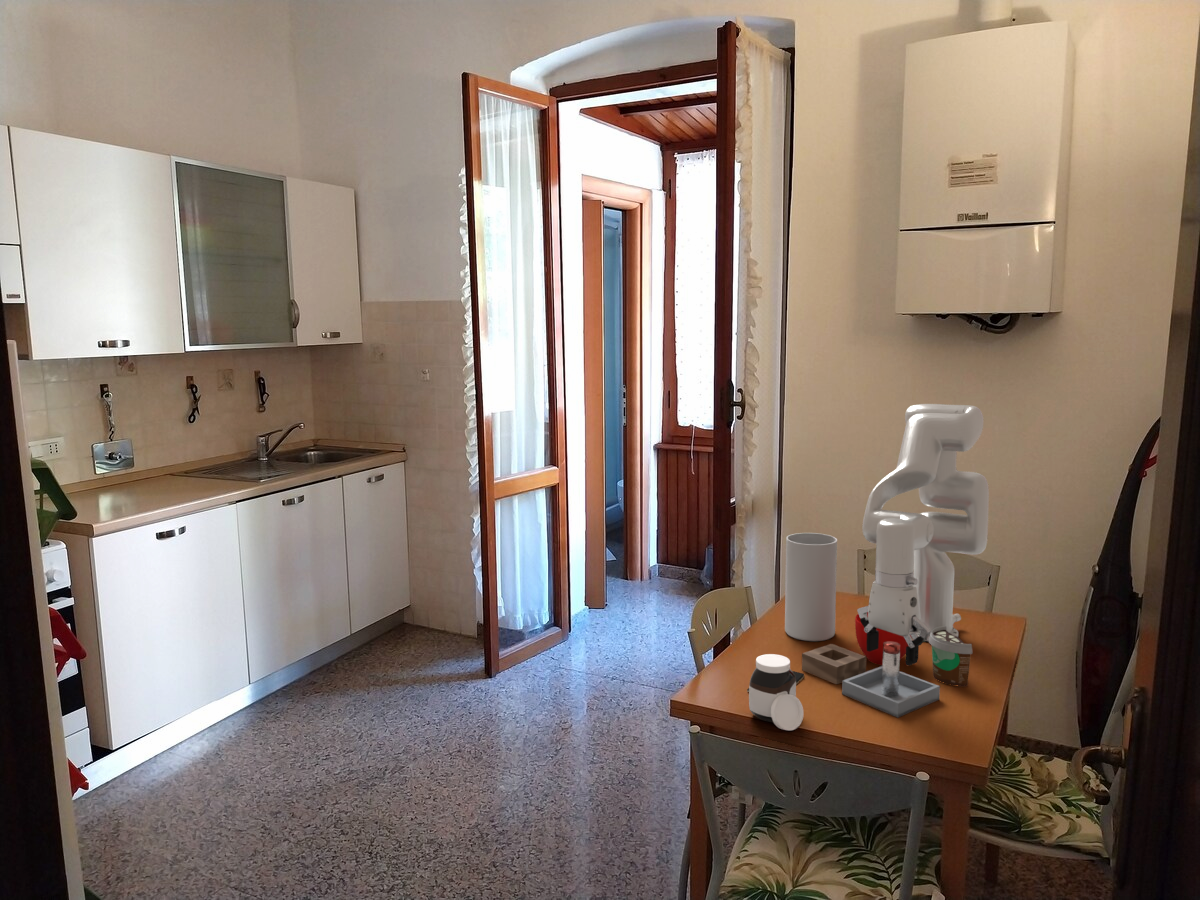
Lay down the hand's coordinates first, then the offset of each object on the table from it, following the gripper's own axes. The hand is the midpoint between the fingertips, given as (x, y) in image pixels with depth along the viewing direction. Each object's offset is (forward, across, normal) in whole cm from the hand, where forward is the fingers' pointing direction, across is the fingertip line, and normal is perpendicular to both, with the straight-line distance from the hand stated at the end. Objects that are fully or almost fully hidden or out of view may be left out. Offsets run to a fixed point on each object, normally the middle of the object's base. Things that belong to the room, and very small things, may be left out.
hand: (891, 656), depth 180 cm
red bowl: (+9, +14, -18) cm, 24 cm away
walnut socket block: (+9, +16, -1) cm, 18 cm away
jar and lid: (+9, +7, +26) cm, 29 cm away
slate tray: (+9, 0, 0) cm, 9 cm away
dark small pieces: (+9, +19, +14) cm, 26 cm away
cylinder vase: (+9, +36, -16) cm, 40 cm away
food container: (+9, -1, -18) cm, 20 cm away
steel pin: (+8, 0, 0) cm, 8 cm away
